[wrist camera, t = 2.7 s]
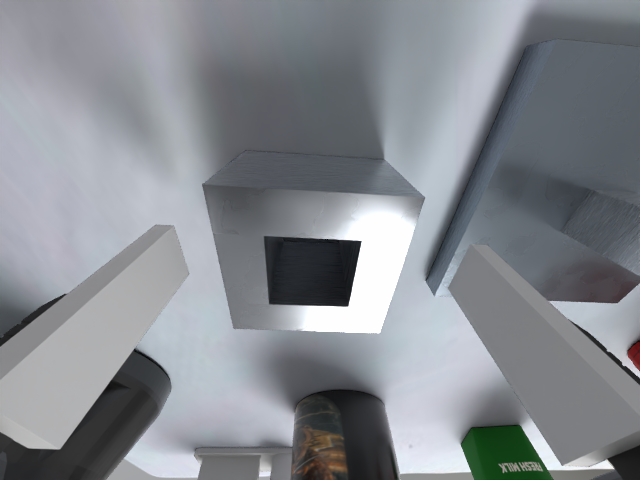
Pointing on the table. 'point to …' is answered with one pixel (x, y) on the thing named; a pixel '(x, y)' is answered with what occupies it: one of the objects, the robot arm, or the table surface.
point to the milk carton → (502, 455)
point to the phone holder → (243, 463)
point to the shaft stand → (559, 177)
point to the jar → (342, 438)
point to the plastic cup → (635, 355)
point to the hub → (310, 222)
